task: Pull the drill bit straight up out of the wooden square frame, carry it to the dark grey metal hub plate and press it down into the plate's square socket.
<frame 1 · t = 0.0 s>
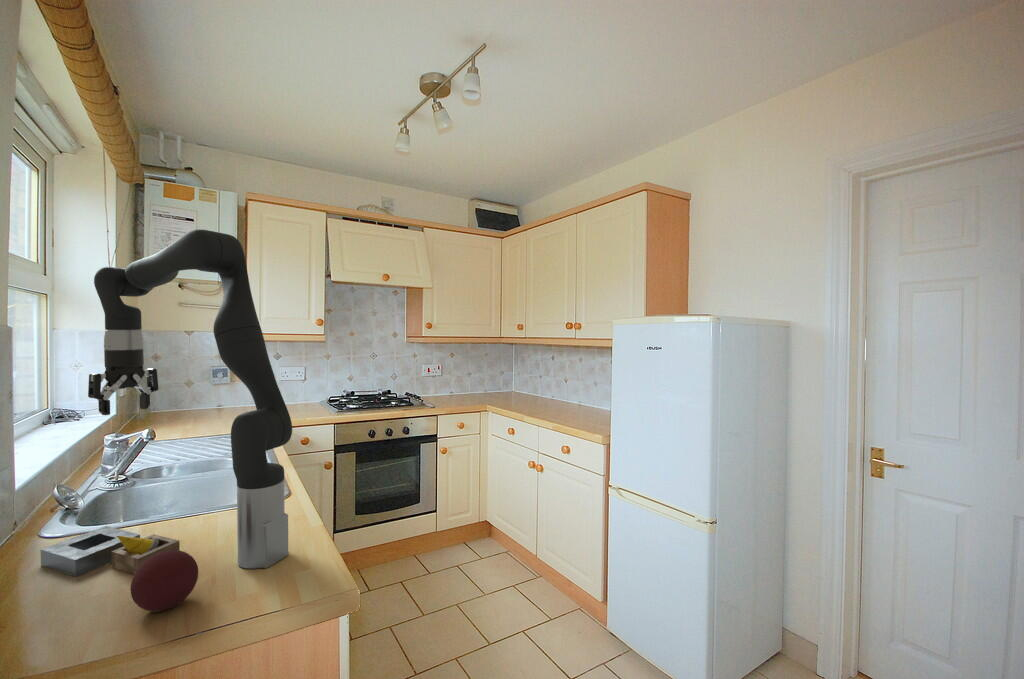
hand: (125, 411, 115), 29 cm above the worktop, fingers open, 8 cm apart
hub plate: (92, 557, 101), on the worktop
wooden square frame: (146, 561, 100), on the worktop
decorative ball: (166, 607, 84), on the worktop
drill bit: (140, 564, 98), on the worktop, touching wooden square frame
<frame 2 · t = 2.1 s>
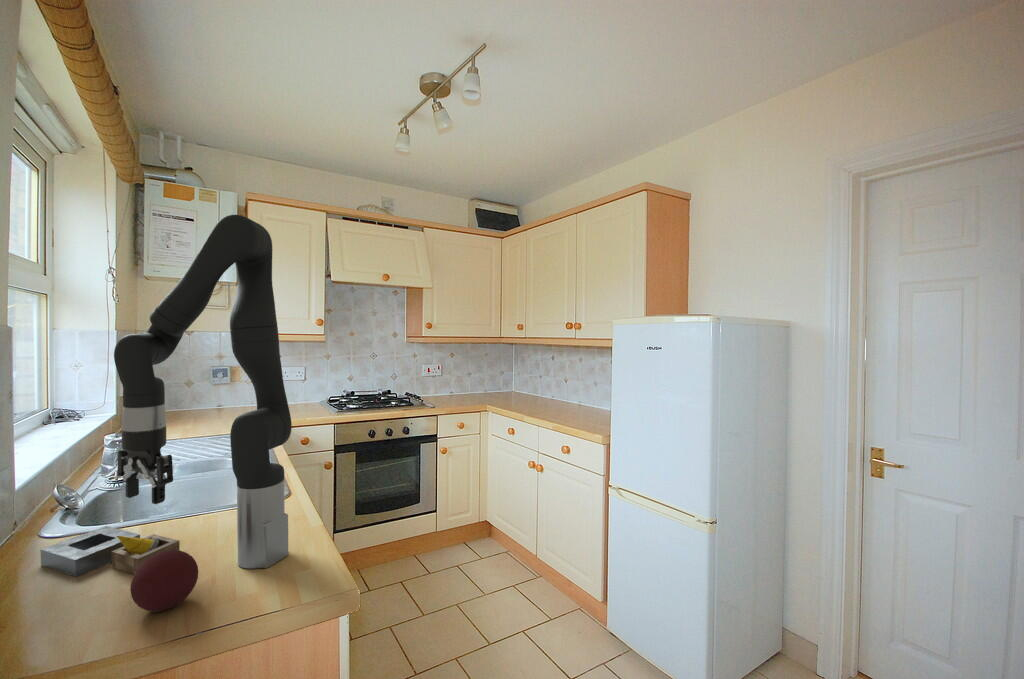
hand: (145, 499, 99), 14 cm above the worktop, fingers open, 8 cm apart
nothing on the worktop moved.
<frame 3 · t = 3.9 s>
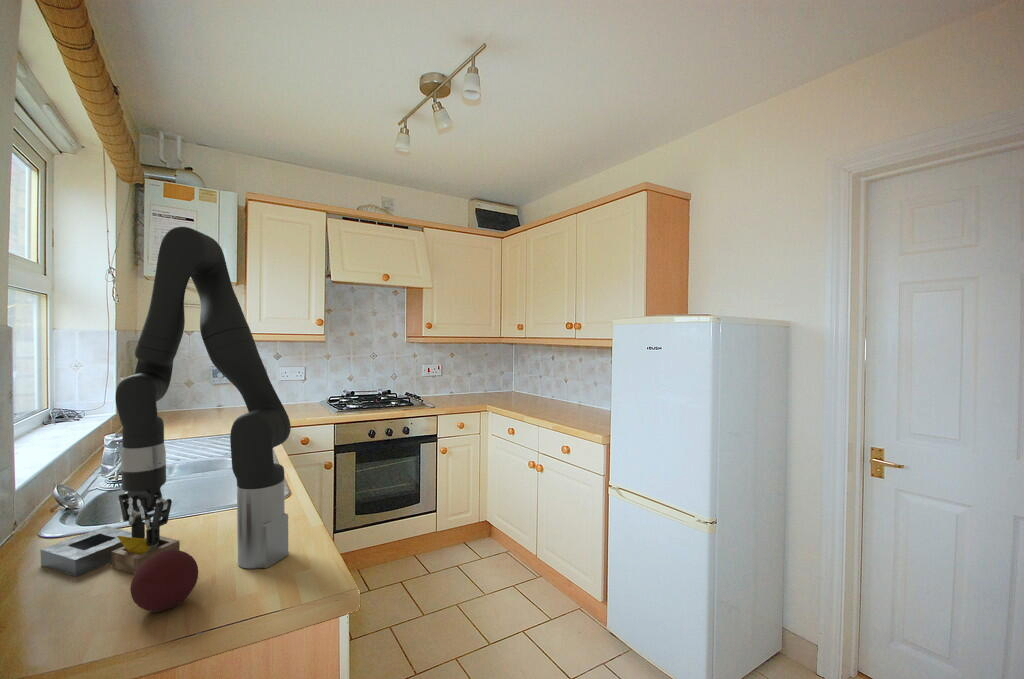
hand: (145, 542, 99), 4 cm above the worktop, fingers closed on drill bit, 4 cm apart
drill bit: (140, 564, 98), on the worktop, touching gripper, wooden square frame
everything else where it was.
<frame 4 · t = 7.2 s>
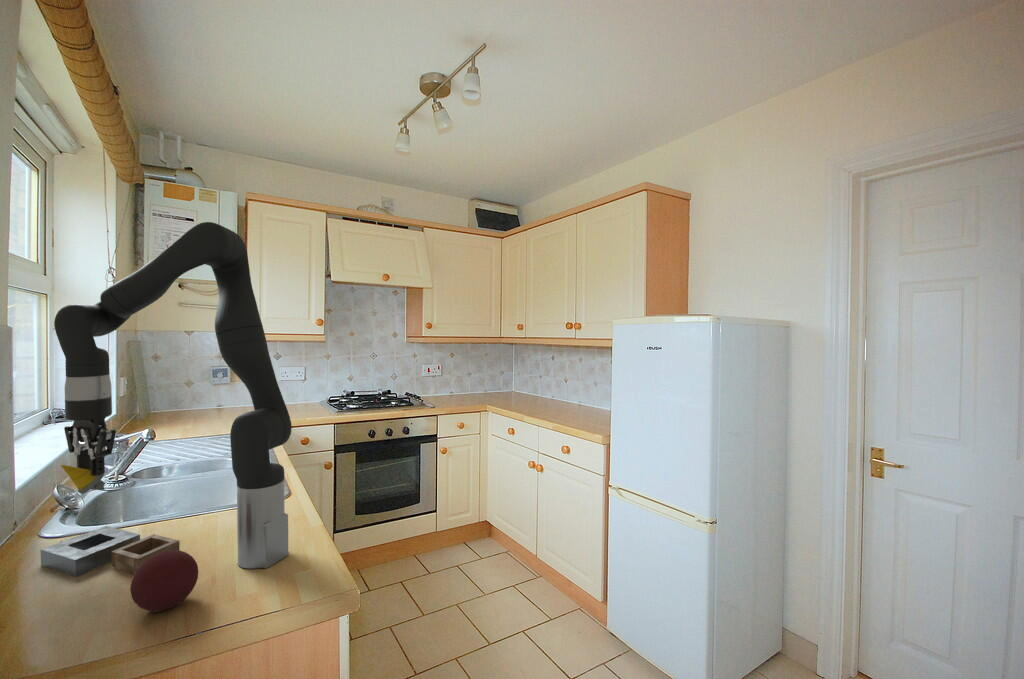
hand: (90, 473, 100), 19 cm above the worktop, fingers closed on drill bit, 4 cm apart
drill bit: (84, 494, 100), point 14 cm above the worktop, touching gripper
everything else where it was.
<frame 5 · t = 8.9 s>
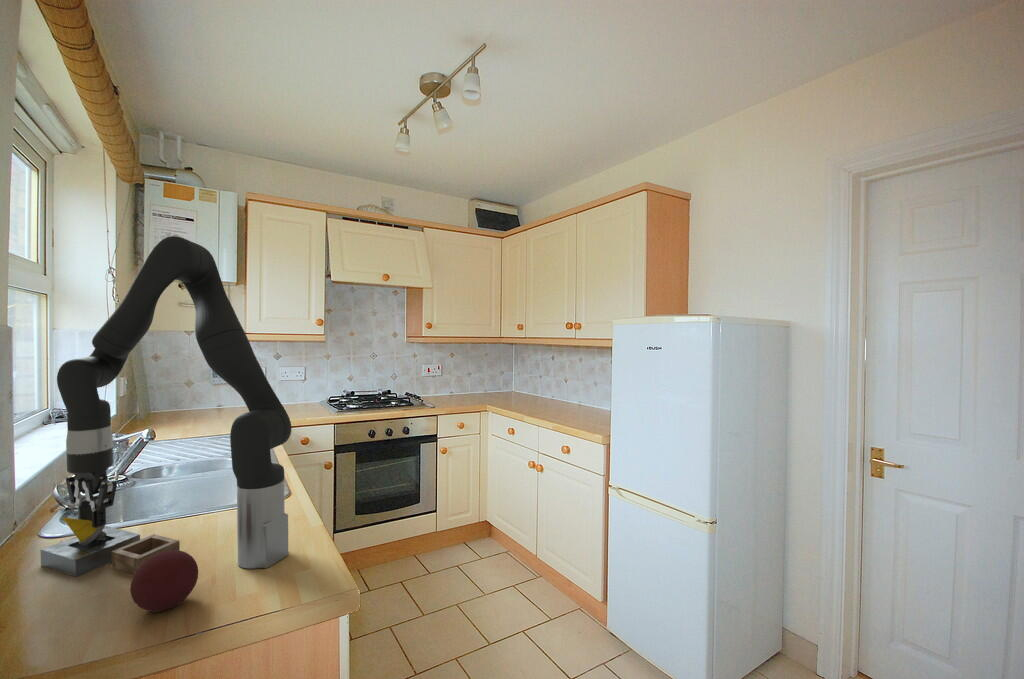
hand: (92, 524, 101), 7 cm above the worktop, fingers closed on drill bit, 4 cm apart
drill bit: (86, 545, 100), point 3 cm above the worktop, touching gripper
everything else where it was.
when the fingers open (5 cm above the worktop, at t = 10.5 s): drill bit stays where it is, resting on hub plate.
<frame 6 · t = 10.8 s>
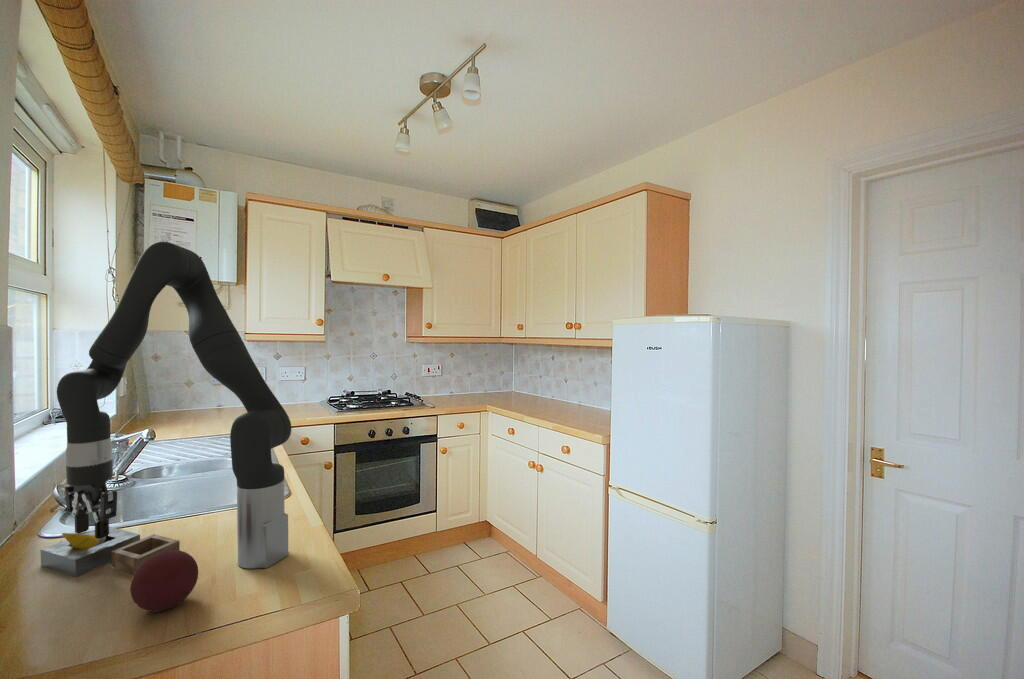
hand: (91, 534, 101), 5 cm above the worktop, fingers open, 6 cm apart
drill bit: (87, 560, 100), resting on hub plate
everything else where it was.
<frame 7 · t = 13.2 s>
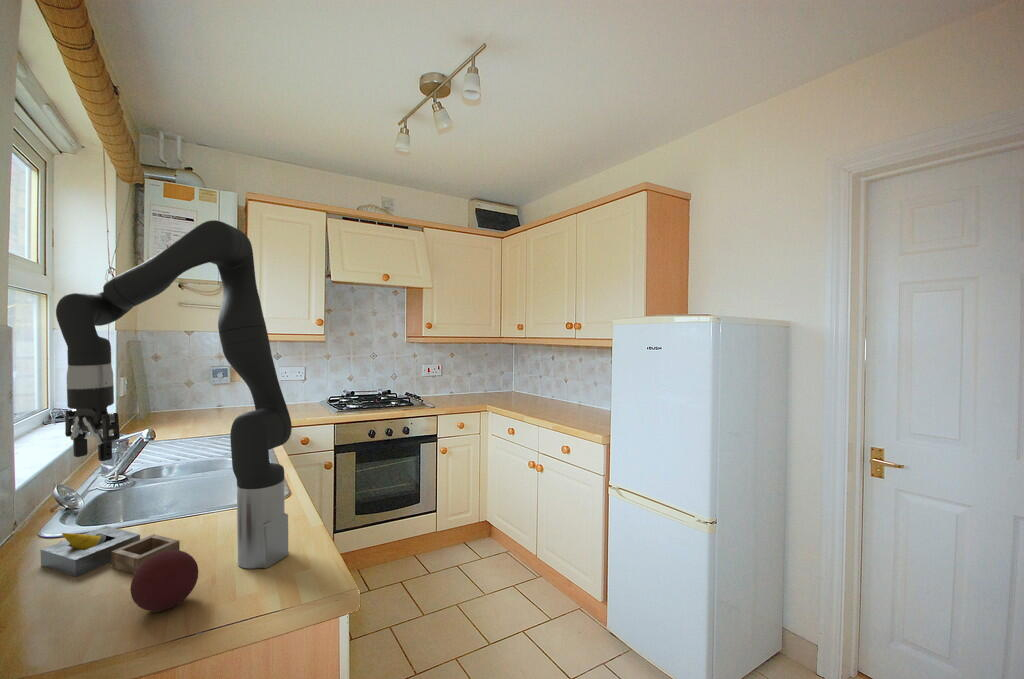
hand: (92, 458, 101), 22 cm above the worktop, fingers open, 8 cm apart
nothing on the worktop moved.
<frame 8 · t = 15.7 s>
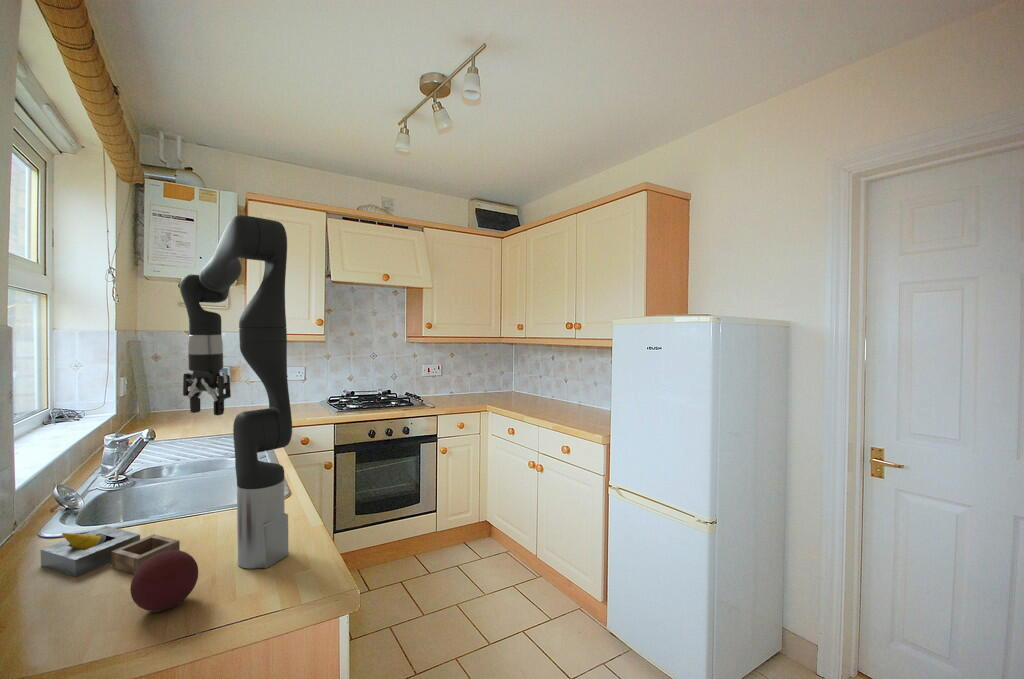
hand: (206, 413, 120), 28 cm above the worktop, fingers open, 8 cm apart
nothing on the worktop moved.
at the end: drill bit 1.1 cm off-centre on the hub plate, point 0.0 cm above the hub plate's base; drill bit tilted 2°; the gripper is holding nothing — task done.
